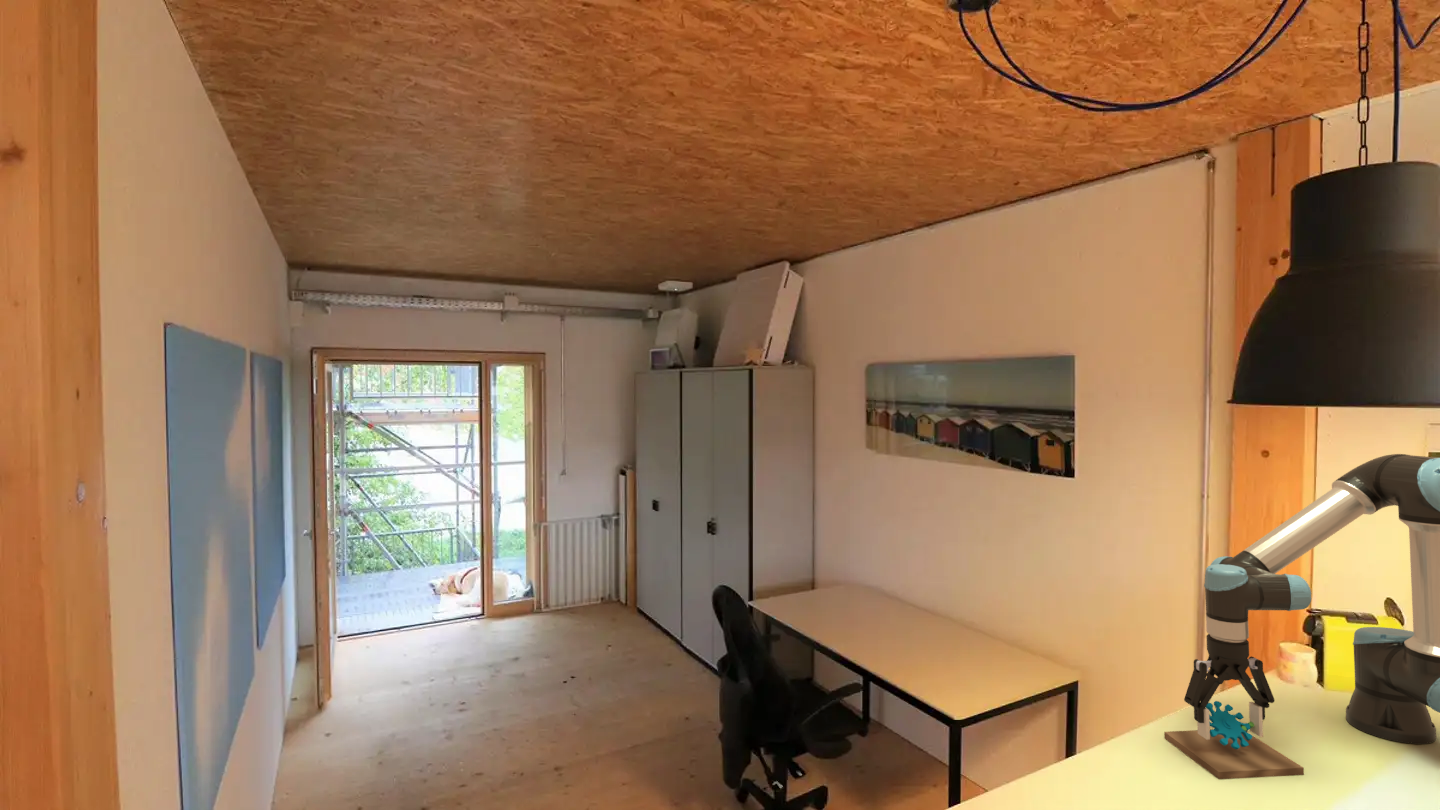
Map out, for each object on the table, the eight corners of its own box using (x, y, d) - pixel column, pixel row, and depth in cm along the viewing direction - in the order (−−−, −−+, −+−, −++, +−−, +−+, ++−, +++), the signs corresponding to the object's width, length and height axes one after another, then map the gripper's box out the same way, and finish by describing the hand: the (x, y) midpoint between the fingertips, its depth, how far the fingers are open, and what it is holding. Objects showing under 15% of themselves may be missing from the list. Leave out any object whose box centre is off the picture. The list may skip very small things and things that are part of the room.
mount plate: (1240, 734, 160) (1240, 728, 160) (1303, 774, 143) (1303, 767, 143) (1164, 738, 160) (1164, 731, 160) (1218, 779, 143) (1218, 772, 143)
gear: (1215, 744, 148) (1197, 697, 155) (1200, 753, 152) (1182, 707, 159) (1267, 750, 147) (1246, 702, 154) (1250, 758, 152) (1231, 712, 159)
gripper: (1265, 628, 155) (1268, 724, 155) (1163, 633, 155) (1166, 729, 155) (1294, 640, 147) (1297, 741, 148) (1186, 645, 147) (1189, 746, 147)
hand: (1230, 735), depth 151 cm, fingers closed on gear, 11 cm apart
